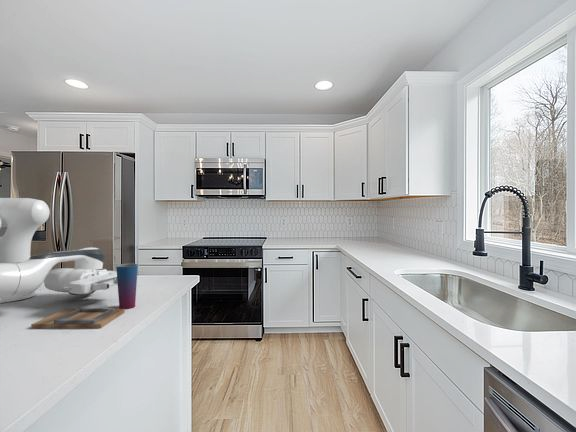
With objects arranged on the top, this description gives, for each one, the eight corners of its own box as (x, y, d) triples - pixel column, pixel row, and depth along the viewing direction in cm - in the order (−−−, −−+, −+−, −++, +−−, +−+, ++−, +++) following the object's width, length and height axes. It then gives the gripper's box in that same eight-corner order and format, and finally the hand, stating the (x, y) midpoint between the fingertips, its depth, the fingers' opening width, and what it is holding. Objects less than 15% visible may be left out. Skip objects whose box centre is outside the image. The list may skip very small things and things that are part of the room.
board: (31, 328, 91) (31, 320, 91) (64, 312, 105) (64, 306, 105) (101, 328, 92) (101, 320, 92) (124, 312, 106) (124, 306, 106)
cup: (134, 303, 116) (133, 262, 116) (140, 307, 111) (140, 265, 111) (113, 306, 112) (113, 265, 111) (119, 311, 107) (119, 267, 106)
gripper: (59, 278, 105) (93, 281, 102) (106, 268, 125) (136, 269, 122) (59, 297, 105) (94, 300, 102) (106, 283, 125) (136, 285, 122)
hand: (117, 283), depth 112 cm, fingers open, 8 cm apart
